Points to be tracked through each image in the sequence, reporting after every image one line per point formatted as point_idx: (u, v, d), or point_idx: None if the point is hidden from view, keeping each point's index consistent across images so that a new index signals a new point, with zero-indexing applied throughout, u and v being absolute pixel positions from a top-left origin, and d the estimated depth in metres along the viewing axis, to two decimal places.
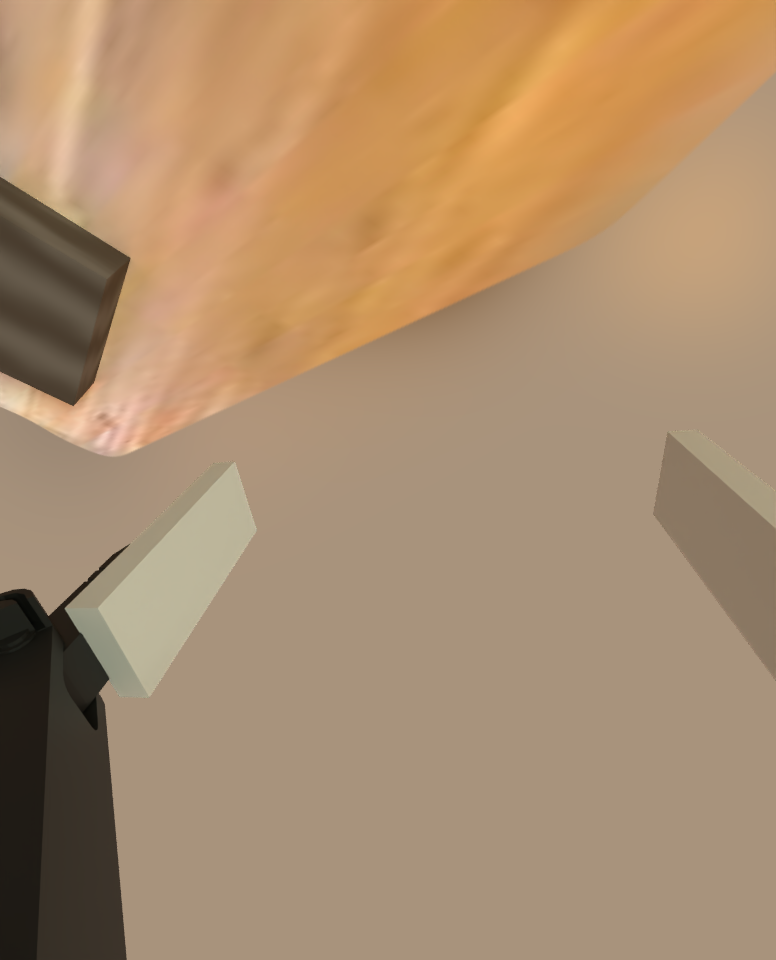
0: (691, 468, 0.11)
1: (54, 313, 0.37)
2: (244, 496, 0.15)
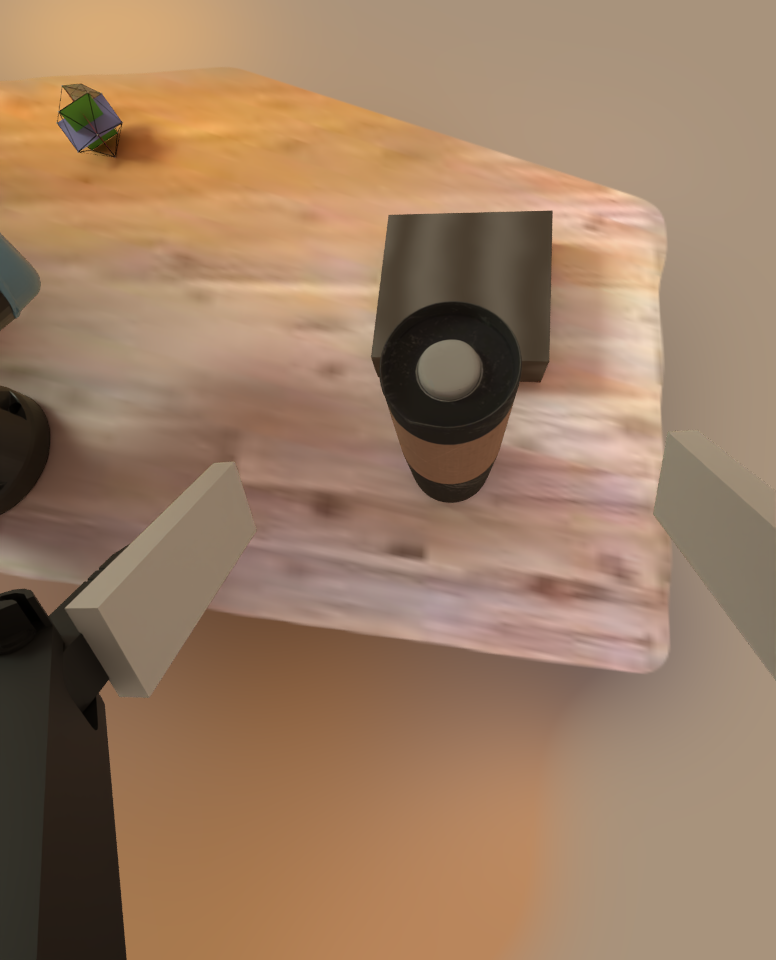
0: (690, 468, 0.11)
1: (445, 238, 0.44)
2: (244, 496, 0.15)
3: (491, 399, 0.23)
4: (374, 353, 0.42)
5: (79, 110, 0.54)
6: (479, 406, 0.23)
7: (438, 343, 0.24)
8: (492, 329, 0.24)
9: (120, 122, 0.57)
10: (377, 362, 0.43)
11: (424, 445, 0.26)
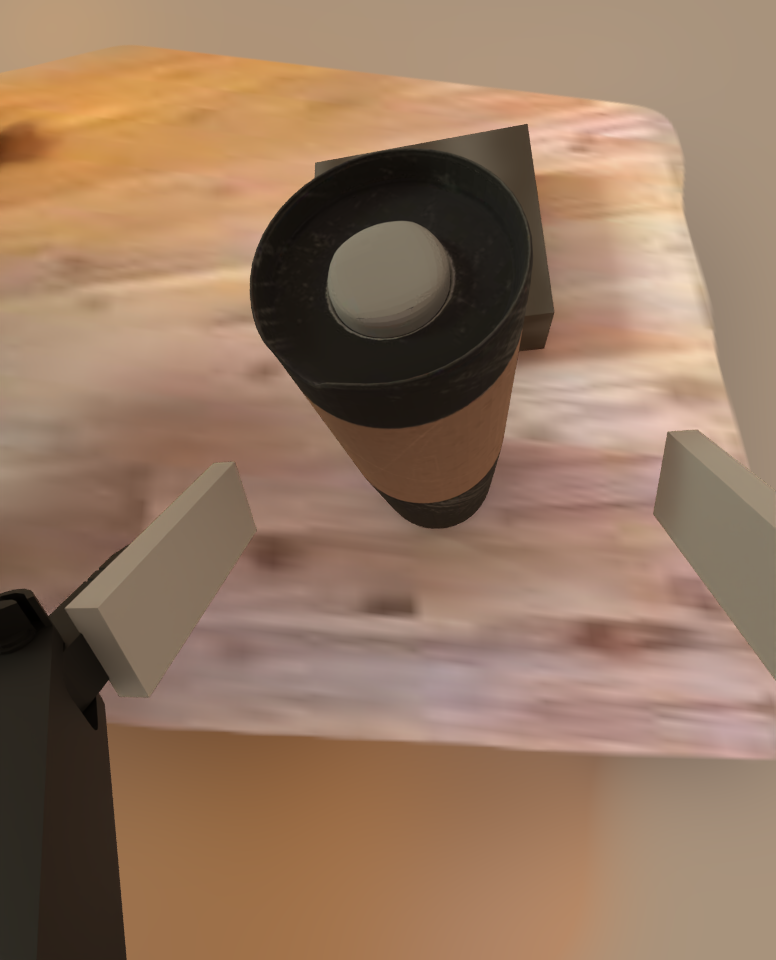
0: (690, 468, 0.11)
1: None
2: (244, 496, 0.15)
3: (479, 321, 0.11)
4: None
5: None
6: (456, 338, 0.11)
7: (361, 232, 0.12)
8: (462, 196, 0.13)
9: None
10: None
11: (366, 436, 0.14)
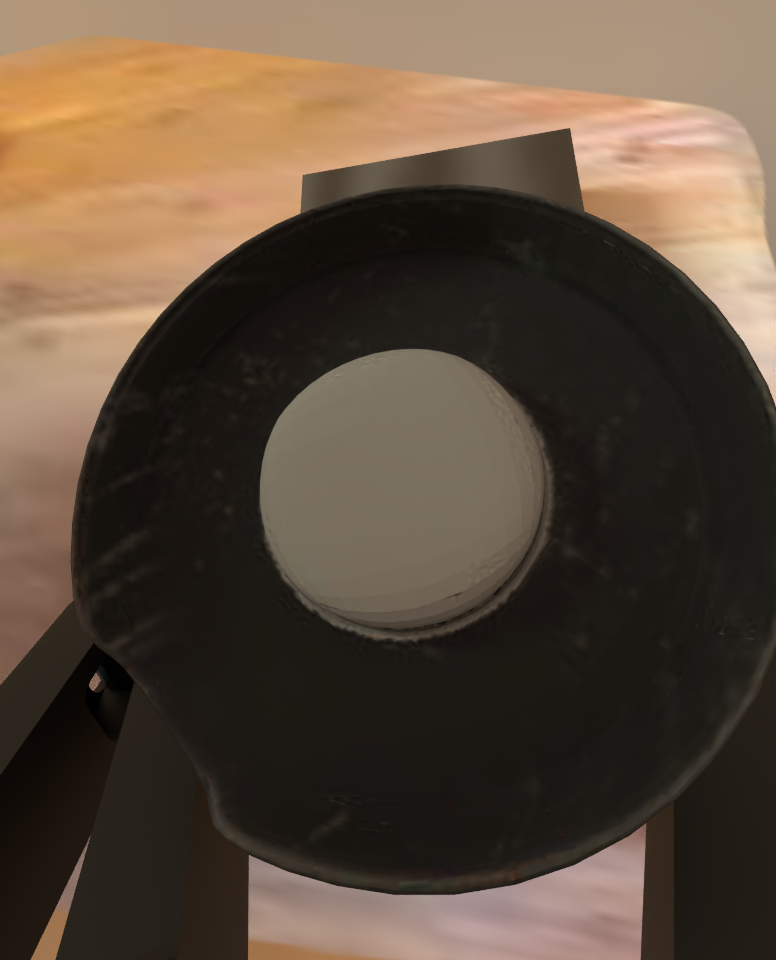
0: None
1: None
2: None
3: (623, 620, 0.05)
4: None
5: None
6: (567, 663, 0.05)
7: (337, 373, 0.05)
8: (558, 288, 0.06)
9: None
10: None
11: None
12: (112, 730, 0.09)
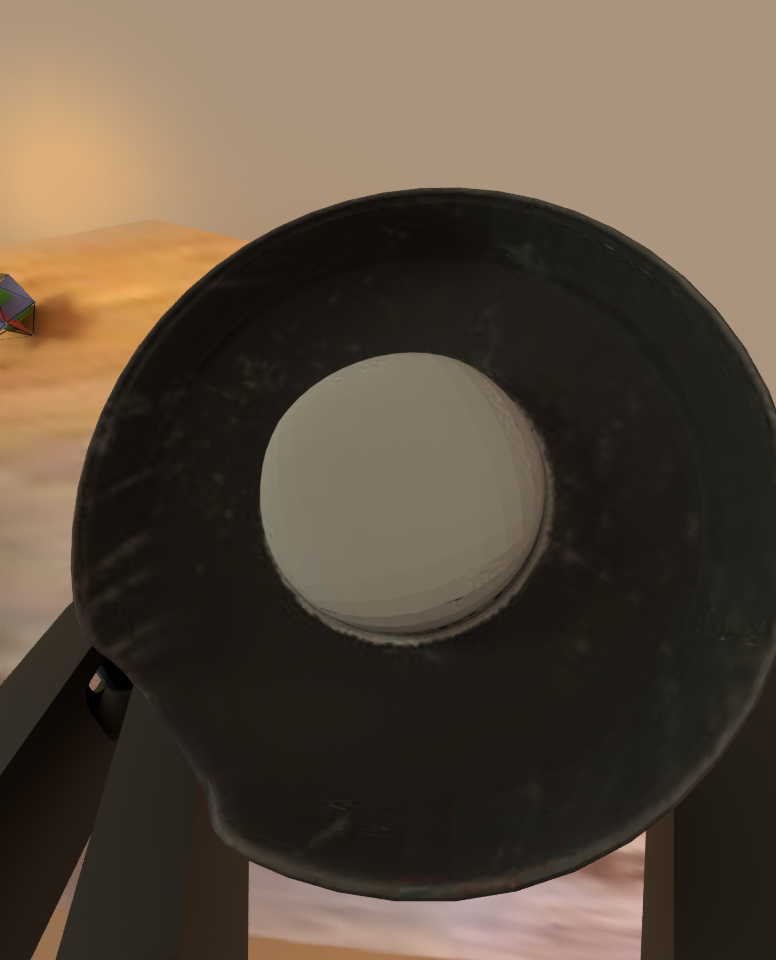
0: None
1: None
2: None
3: (623, 625, 0.05)
4: None
5: None
6: (568, 668, 0.05)
7: (337, 377, 0.05)
8: (558, 291, 0.06)
9: (32, 302, 0.51)
10: None
11: None
12: (112, 730, 0.09)
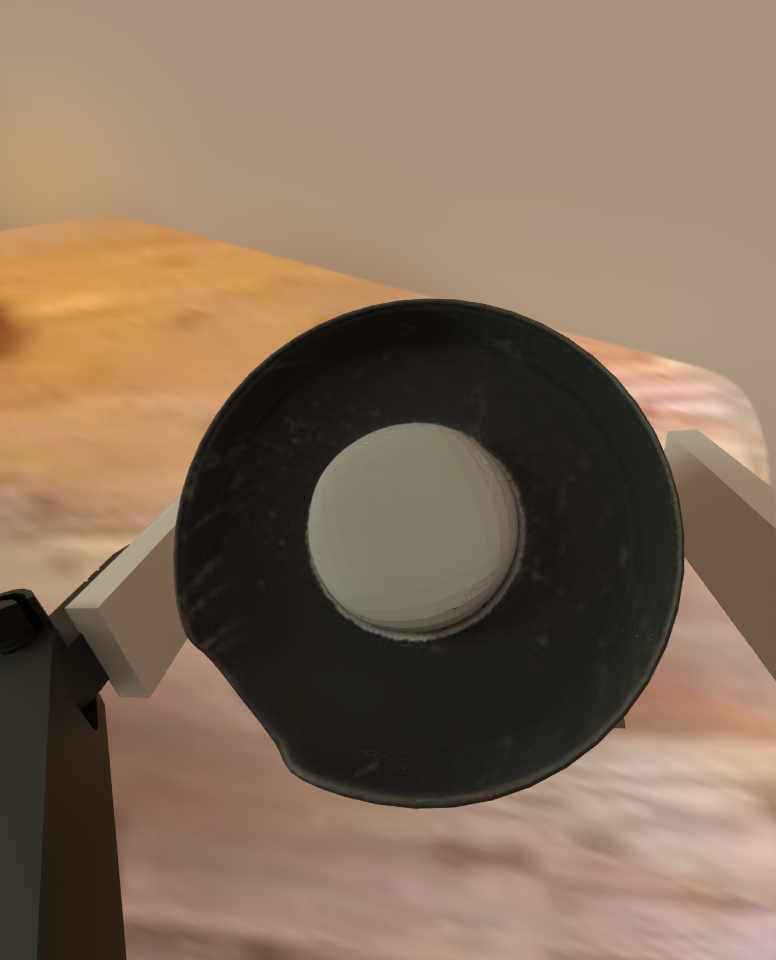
0: (690, 468, 0.11)
1: None
2: None
3: (573, 626, 0.06)
4: None
5: None
6: (533, 657, 0.06)
7: (365, 441, 0.07)
8: (532, 373, 0.08)
9: None
10: None
11: None
12: None
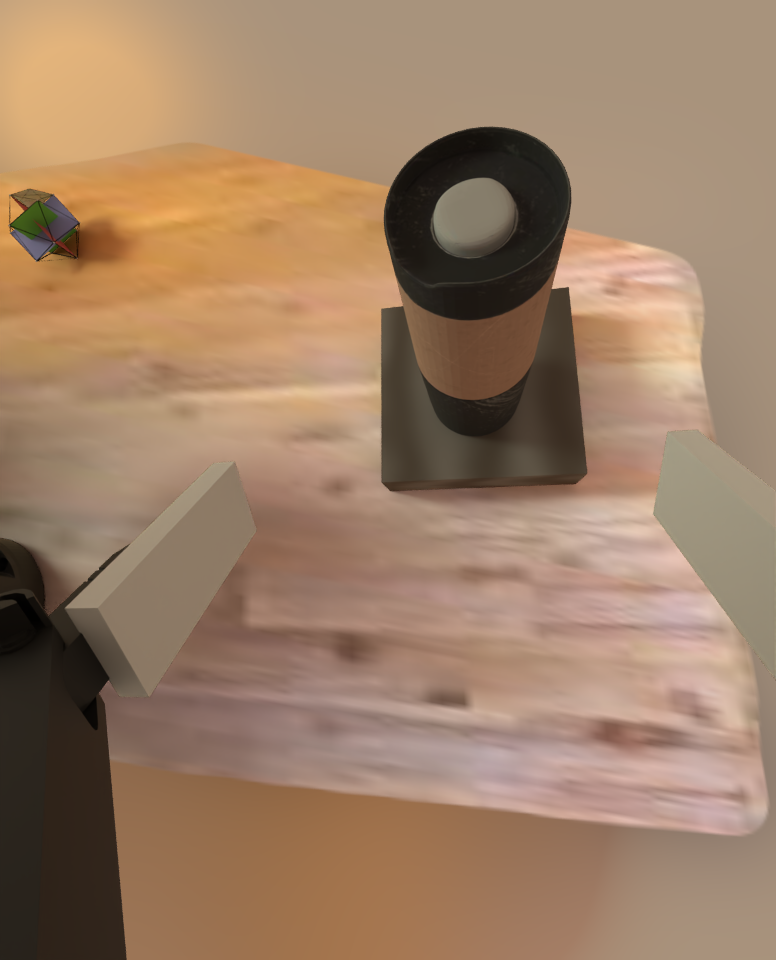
0: (690, 468, 0.11)
1: None
2: (244, 496, 0.15)
3: (534, 244, 0.18)
4: (384, 477, 0.37)
5: (31, 218, 0.50)
6: (519, 256, 0.18)
7: (456, 185, 0.19)
8: (522, 160, 0.19)
9: (77, 223, 0.52)
10: (388, 484, 0.38)
11: (451, 329, 0.20)
12: None
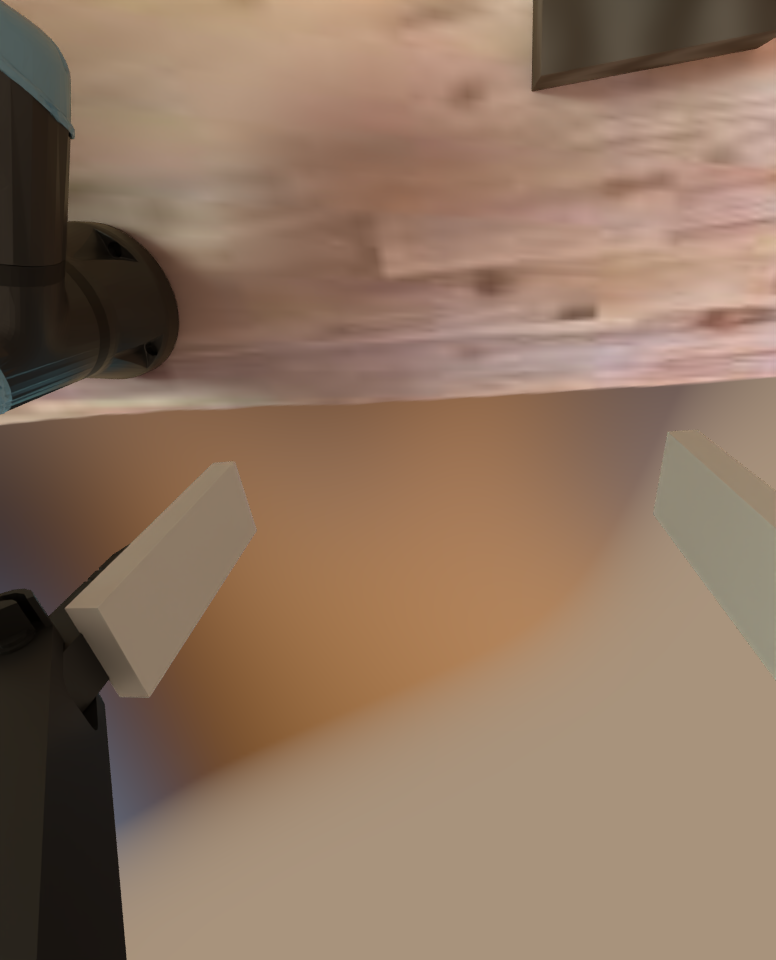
0: (690, 468, 0.11)
1: None
2: (244, 496, 0.15)
3: None
4: (545, 68, 0.32)
5: None
6: None
7: None
8: None
9: None
10: (544, 78, 0.33)
11: None
12: None
